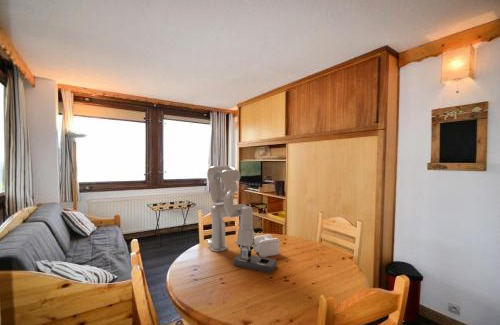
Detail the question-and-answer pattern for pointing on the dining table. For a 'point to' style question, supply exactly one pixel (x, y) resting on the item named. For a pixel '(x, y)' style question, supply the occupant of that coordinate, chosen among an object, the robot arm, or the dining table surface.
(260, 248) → the cable organizer
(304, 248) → the dining table surface
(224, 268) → the dining table surface
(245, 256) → the plug
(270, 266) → the jack panel
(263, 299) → the dining table surface
